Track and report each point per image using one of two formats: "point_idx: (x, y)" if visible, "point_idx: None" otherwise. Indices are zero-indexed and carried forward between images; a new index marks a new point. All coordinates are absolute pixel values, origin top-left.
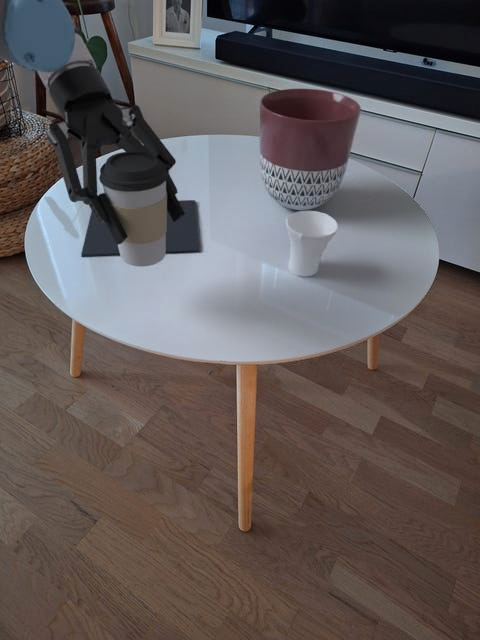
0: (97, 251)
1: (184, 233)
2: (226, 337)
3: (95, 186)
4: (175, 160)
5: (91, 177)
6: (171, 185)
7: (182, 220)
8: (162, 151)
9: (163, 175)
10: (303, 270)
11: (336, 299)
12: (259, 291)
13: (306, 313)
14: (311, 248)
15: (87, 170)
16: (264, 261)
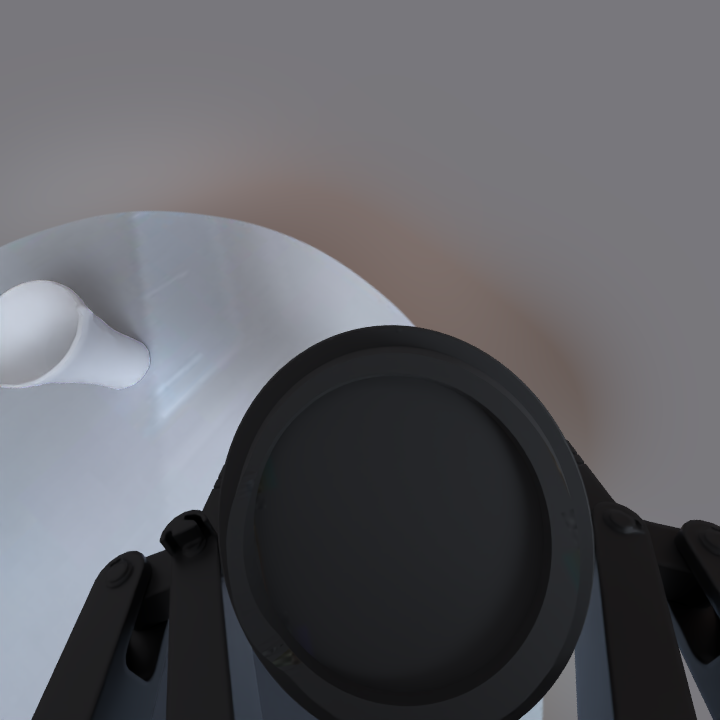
0: None
1: None
2: (337, 309)
3: (605, 542)
4: (101, 571)
5: (639, 601)
6: None
7: (162, 677)
8: (100, 656)
9: (300, 354)
10: (136, 343)
11: (157, 279)
12: (226, 361)
13: (214, 282)
14: (93, 314)
15: (681, 666)
16: (155, 422)
